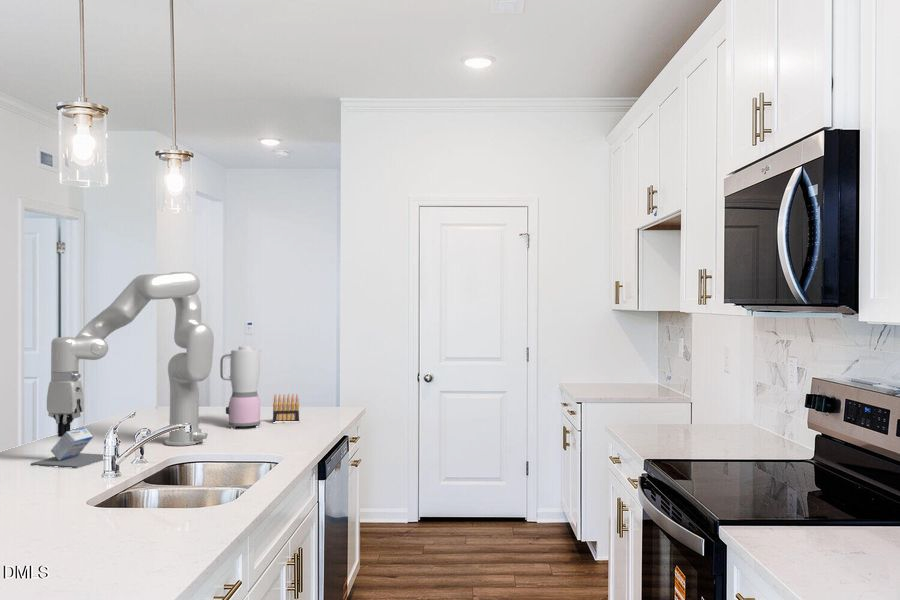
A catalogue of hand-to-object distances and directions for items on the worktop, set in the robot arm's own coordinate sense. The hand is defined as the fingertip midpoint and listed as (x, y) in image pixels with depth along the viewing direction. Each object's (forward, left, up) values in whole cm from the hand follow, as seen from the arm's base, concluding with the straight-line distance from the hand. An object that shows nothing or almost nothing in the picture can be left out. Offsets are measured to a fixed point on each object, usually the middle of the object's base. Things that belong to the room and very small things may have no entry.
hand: (64, 436), depth 216 cm
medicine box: (0, 0, -6) cm, 6 cm away
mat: (-3, 0, -8) cm, 8 cm away
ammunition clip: (-35, -82, -8) cm, 90 cm away
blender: (-22, -68, -8) cm, 72 cm away
